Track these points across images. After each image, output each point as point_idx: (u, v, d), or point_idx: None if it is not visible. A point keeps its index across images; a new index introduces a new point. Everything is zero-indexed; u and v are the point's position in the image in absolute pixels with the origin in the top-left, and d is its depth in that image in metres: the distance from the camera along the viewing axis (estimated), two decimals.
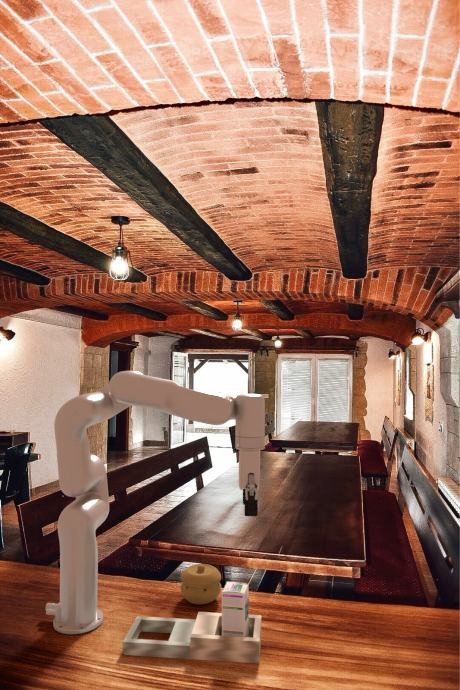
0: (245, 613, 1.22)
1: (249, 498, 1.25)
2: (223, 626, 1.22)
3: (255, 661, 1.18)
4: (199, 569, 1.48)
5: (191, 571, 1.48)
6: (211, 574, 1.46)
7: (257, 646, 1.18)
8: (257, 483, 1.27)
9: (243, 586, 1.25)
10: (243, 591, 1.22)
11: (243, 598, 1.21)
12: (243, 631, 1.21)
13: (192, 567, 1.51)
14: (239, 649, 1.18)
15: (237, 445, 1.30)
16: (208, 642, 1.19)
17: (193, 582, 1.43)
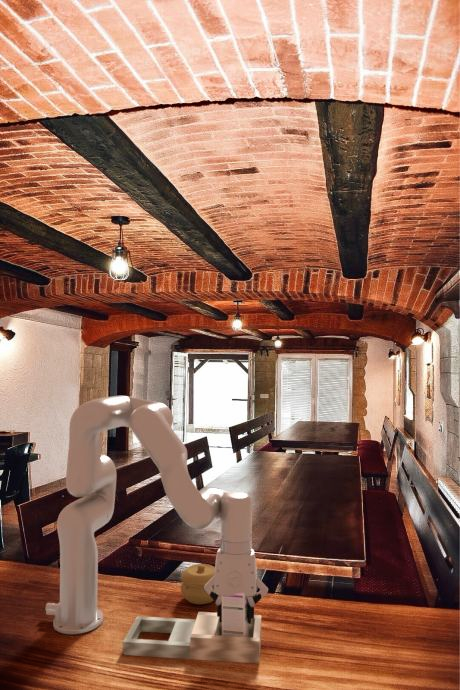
0: (245, 613, 1.22)
1: None
2: (223, 626, 1.22)
3: (255, 661, 1.18)
4: (199, 569, 1.48)
5: (191, 571, 1.48)
6: (211, 574, 1.46)
7: (257, 646, 1.18)
8: None
9: None
10: None
11: (243, 598, 1.21)
12: (243, 631, 1.21)
13: (192, 567, 1.51)
14: (239, 649, 1.18)
15: (242, 552, 1.21)
16: (208, 642, 1.19)
17: (193, 582, 1.43)
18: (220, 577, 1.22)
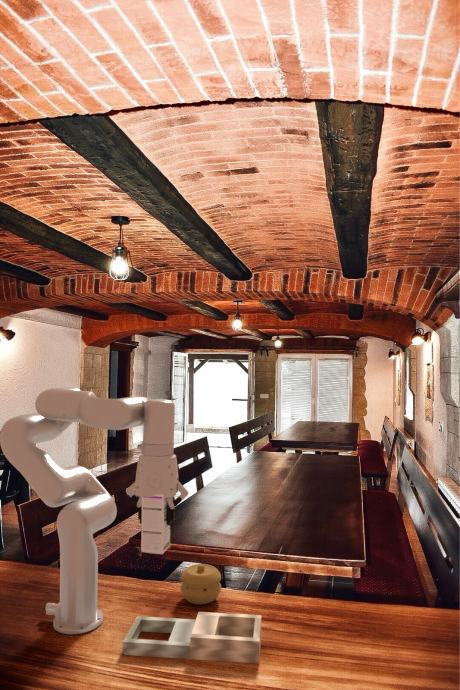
0: (164, 514, 1.25)
1: (176, 505, 1.26)
2: (142, 526, 1.25)
3: (255, 661, 1.18)
4: (199, 569, 1.48)
5: (191, 571, 1.48)
6: (211, 574, 1.46)
7: (257, 646, 1.18)
8: None
9: None
10: None
11: (162, 499, 1.24)
12: (161, 531, 1.24)
13: (192, 567, 1.50)
14: (239, 649, 1.18)
15: (162, 454, 1.24)
16: (208, 642, 1.19)
17: (193, 582, 1.43)
18: (141, 479, 1.25)
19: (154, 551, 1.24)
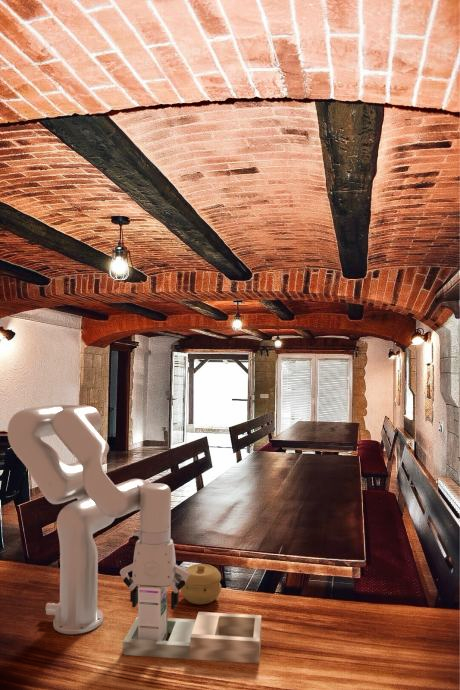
0: (161, 608, 1.24)
1: (180, 588, 1.25)
2: (139, 621, 1.24)
3: (255, 661, 1.18)
4: (199, 569, 1.48)
5: (191, 571, 1.48)
6: (211, 574, 1.46)
7: (257, 646, 1.18)
8: (175, 571, 1.28)
9: None
10: (159, 586, 1.25)
11: (159, 593, 1.24)
12: (158, 626, 1.23)
13: (192, 567, 1.51)
14: (239, 649, 1.18)
15: (158, 542, 1.23)
16: (208, 642, 1.19)
17: (193, 582, 1.43)
18: (138, 567, 1.24)
19: None
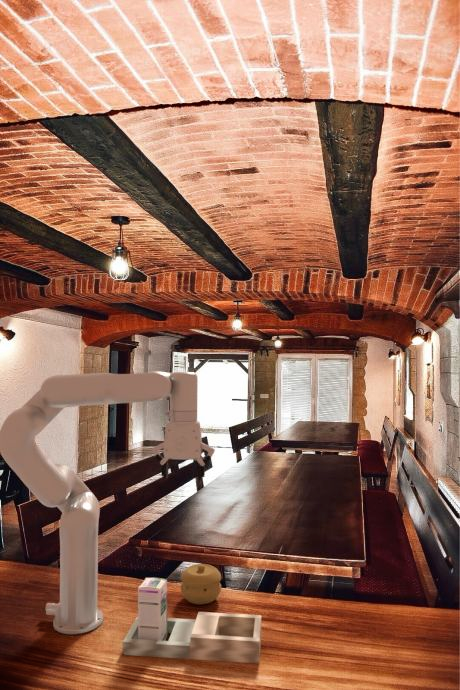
0: (161, 608, 1.24)
1: None
2: (139, 621, 1.24)
3: (255, 661, 1.18)
4: (199, 569, 1.48)
5: (191, 571, 1.48)
6: (211, 574, 1.46)
7: (257, 646, 1.18)
8: None
9: (161, 582, 1.27)
10: (159, 586, 1.25)
11: (159, 593, 1.24)
12: (158, 626, 1.23)
13: (192, 567, 1.51)
14: (239, 649, 1.18)
15: (187, 420, 1.39)
16: (208, 642, 1.19)
17: (193, 582, 1.43)
18: (169, 442, 1.40)
19: None
